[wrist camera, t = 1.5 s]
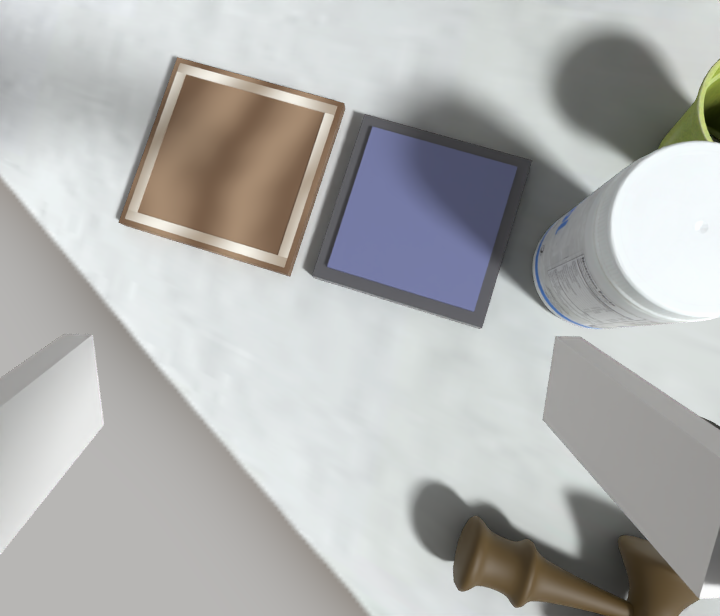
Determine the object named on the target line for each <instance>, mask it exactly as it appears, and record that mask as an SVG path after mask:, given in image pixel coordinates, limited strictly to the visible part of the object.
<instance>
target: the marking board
mask: <svg viewBox="0 0 720 616" xmlns="http://www.w3.org/2000/svg"><path fill="white" fill-rule="evenodd" d="M344 111H345V105H344V103H341V102H338V101H334V100H331V99H327V98H323V97H320V96H316V95H312V94H309V93H305V92H302V91H298V90H294V89H291V88H287V87H283V86H280V85H276V84H272V83H269V82H265V81H262V80H258V79H254V78H251V77H247V76H243V75H240V74H236V73H233V72H229V71H225V70H222V69H218V68H214V67H211V66H207V65H203V64H200V63H196V62H193V61H189V60H185V59H182V58H178V57H177V60H176V63H175V65H174V68H173V71H172V74H171V77H170V79H169V82H168V85H167V88H166V91H165V94H164V96H163V99H162V102H161V105H160V108H159V110H158V113H157V116H156V119H155V122H154V124H153V127H152V130H151V133H150V136H149V139H148V141H147V144H146V147H145V150H144V153H143V155H142V158H141V161H140V164H139V167H138V169H137V172H136V175H135V178H134V181H133V183H132V186H131V189H130V192H129V195H128V198H127V200H126V203H125V206H124V209H123V212H122V214H121V217H120V220H119V223H121V224H123V225H125V226H128V227H132V228H135V229H138V230H141V231H145V232H148V233H151V234H154V235H157V236H161V237H164V238H167V239H170V240H174V241H177V242H180V243H183V244H187V245H190V246H193V247H196V248H200V249H203V250H206V251H209V252H212V253H216V254H219V255H222V256H225V257H229V258H232V259H235V260H238V261H242V262H245V263H248V264H251V265H254V266H258V267H261V268H264V269H267V270H271V271H274V272H277V273H280V274H284V275H287V276H291V273H292V269H293V266H294V263H295V260H296V257H297V254H298V251H299V248H300V245H301V242H302V239H303V236H304V233H305V230H306V227H307V224H308V221H309V218H310V215H311V212H312V209H313V206H314V203H315V199H316V196H317V193H318V190H319V187H320V184H321V181H322V178H323V175H324V172H325V169H326V166H327V163H328V160H329V157H330V154H331V151H332V148H333V145H334V142H335V139H336V136H337V133H338V129H339V126H340V123H341V120H342V117H343V114H344Z"/></svg>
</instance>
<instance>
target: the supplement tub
mask: <svg viewBox="0 0 720 616" xmlns="http://www.w3.org/2000/svg"><path fill="white" fill-rule="evenodd" d="M532 271H533V280H534V284H535V287H536V290H537V292H538V294H539V296H540V298H541V300H542V301H543V303H544V304H545V305H546V306H547V308H548V309H549V310H550V311H551V312H552V313H554V314H555V315H556V316H557V317H559V318H560V319H562V320H564V321H566V322H568V323H570V324H572V325H575V326H578V327H582V328H587V329H609V328H622V327H635V326H647V325H660V324H672V323H685V322H696V321H704V320H710V319H714V318H717V317H720V143H717V142H711V141H687V142H680V143H675V144H671V145H668V146H665V147H662V148H660V149H658V150H656V151H654V152H652V153H650V154H648V155H646V156H644V157H642V158H640V159H638V160H636V161H635V162H633V163H632V164H630V165H629V166H627V167H626V168H624V169H623V170H622V171H620V172H619V173H618V174H616V175H615V176H614V177H613V178H611V179H610V180H609V181H607V182H606V183H605V184H604V185H602V186H601V187H600V188H598V189H597V190H596V191H595V192H593V193H592V194H591V195H590V196H588V197H587V198H586V199H584V200H583V201H582V202H580V203H579V204H578V205H577V206H575V207H574V208H573V209H571V210H570V211H569V212H568V213H566V214H565V215H564V216H562V217H561V218H560V219H559V220H557V221H556V222H555V223H554V224H553V225H552V226H551V227H550V228H549V229H548V230H547V231H546V232H545V234H544V235H543V236H542V238H541V240H540V241H539V243H538V245H537V248H536V250H535V253H534V258H533V265H532Z"/></svg>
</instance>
